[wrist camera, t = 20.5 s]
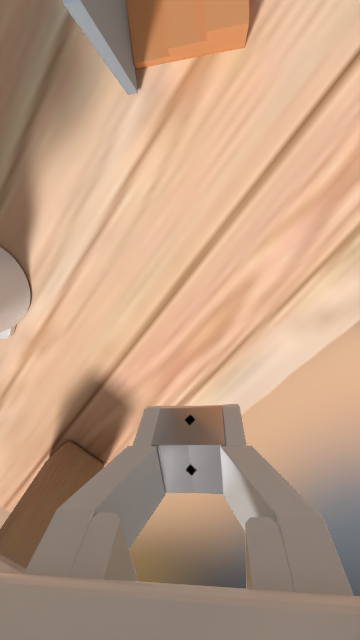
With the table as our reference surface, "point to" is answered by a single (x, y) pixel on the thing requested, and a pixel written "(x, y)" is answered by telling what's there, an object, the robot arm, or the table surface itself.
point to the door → (108, 35)
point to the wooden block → (43, 504)
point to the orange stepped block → (185, 28)
